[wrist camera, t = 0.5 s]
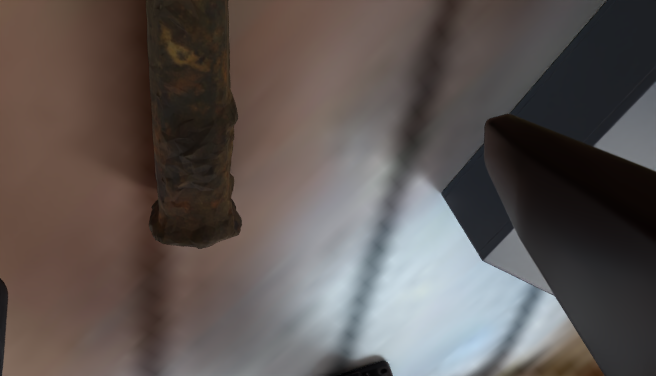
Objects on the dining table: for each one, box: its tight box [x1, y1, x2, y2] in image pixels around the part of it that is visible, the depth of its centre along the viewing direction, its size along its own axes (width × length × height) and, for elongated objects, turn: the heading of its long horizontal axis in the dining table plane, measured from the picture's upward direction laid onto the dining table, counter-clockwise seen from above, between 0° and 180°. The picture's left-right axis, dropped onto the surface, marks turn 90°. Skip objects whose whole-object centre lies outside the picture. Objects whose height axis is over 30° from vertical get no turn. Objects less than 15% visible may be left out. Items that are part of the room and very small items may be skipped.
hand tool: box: [146, 0, 242, 249], centre depth 19 cm, size 19×4×5 cm, turn 171°
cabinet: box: [441, 0, 656, 296], centre depth 26 cm, size 13×12×6 cm
